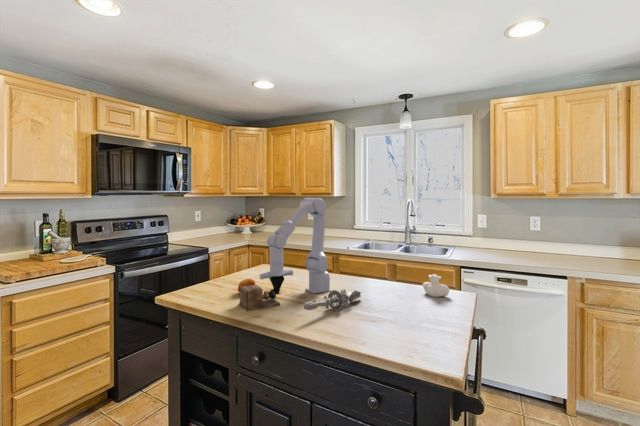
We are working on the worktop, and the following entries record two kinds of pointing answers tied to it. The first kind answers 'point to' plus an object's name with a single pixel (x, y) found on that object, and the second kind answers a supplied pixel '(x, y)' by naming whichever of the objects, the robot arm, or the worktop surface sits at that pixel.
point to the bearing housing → (255, 298)
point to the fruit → (246, 283)
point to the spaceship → (334, 300)
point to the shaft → (269, 294)
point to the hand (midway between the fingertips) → (276, 293)
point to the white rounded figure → (435, 287)
